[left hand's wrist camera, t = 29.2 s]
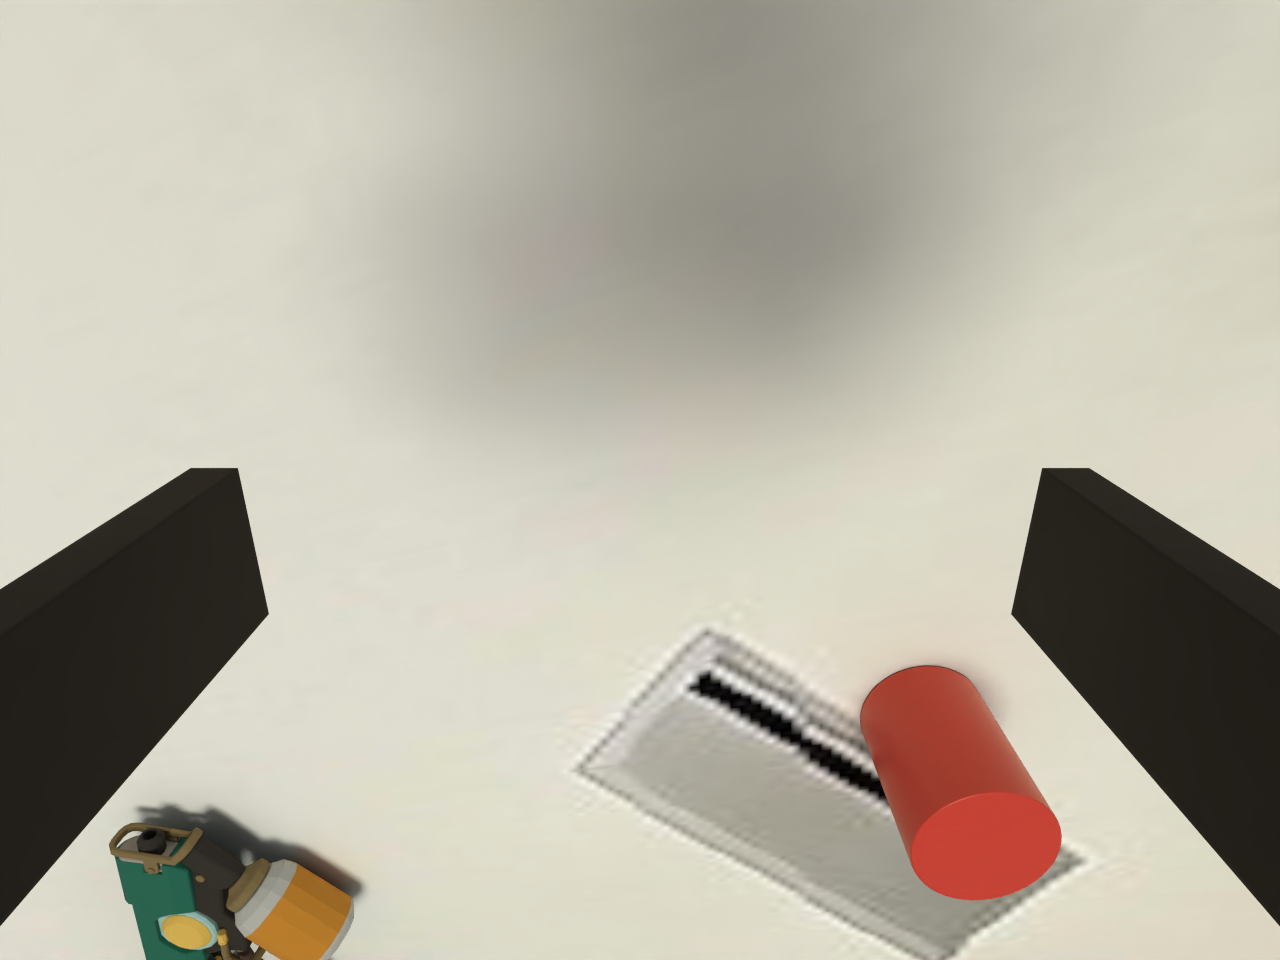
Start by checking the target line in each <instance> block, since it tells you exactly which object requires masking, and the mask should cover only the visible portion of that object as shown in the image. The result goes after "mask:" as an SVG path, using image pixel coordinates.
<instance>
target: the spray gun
mask: <svg viewBox="0 0 1280 960" xmlns="http://www.w3.org/2000/svg"><path fill="white" fill-rule="evenodd" d="M132 831H142V832H143V833H142V834H141V835H140V836H135V837H132V838H130V839H128V840H126V841H124V842H123V843H122V844H120V845H119V846H118V847H117V848H116V846H117V845H118V843H119V842H120V841H121V840H122V838H123V837H124V836H125V835H126V834H127V833H129V832H132ZM202 833H203V831H202V830H201V829H199V828H198V827H196V828H194V829H193V830H192V831H186V830H180V829H174V828H167V827H161V826H155V825H149V824H142V823H131V824H128V825H126V826H124V827H123V828H121V829H120V830H119V831H118V832H117V834H116V835H115V836H114V837H113V838H112V840H111V842H110V844H109V847H110V851H111V854H112V855H114V856H115V859H116V863H117V867H118V872H119V876H120V880H121V884H122V888H123V892H124V896H125V900H126V901H127V903H128V904H132V905H133V909H134V913H135V917H136V921H137V925H138V929H139V933H140V937H141V940H142V944H143V948H144V952H145V956H146V960H222V958H221V956H215V957H214V956H213V955H212V954H211V953H214V952H218V951H221V954H222V957H223V959H224V960H263V959H262V958H261V957H262V956H263V954H264V953H265V951H268V952H269V953H271V954H273V955H274V956H276V957H277V958H279V959H281V960H328V959H329V958H330V957H331V956H332V955H333V953H334V952H335V951H336V950H337V948H338V947H339V945H340V944H341V942H342V941H343V939H344V937H345V936H346V934H347V932H348V930H349V929H350V927H351V924H352V921H353V918H354V904H353V899H352V897H350V896H349V895H347V894H346V893H344V892H342V891H341V890H339V889H338V888H336V887H334V886H333V885H331V884H330V883H328V882H326V881H325V880H323V879H321V878H320V877H318V876H317V875H315V874H313V873H312V872H310V871H308V870H307V869H305V868H304V867H302V866H300V865H299V864H297V863H296V862H293V861H289V860H285V859H282V860H279V861H276V862H273V863H270V862H268V861H267V860H265V859H263V858H261V859H259V860H257V861H256V862H254V863H253V864H250V865H248V866H244V865H243V864H242V863H241V862H240V861H239V860H238V859H236V858H235V857H233V856H232V855H231V854H229V853H228V852H227V851H225V850H224V849H222V848H221V847H220V846H218V845H217V844H215V843H214V842H213V841H211V840H210V839H209V838H207V837H206V836H204V835H203V836H201V835H202ZM177 837H181V838H182V839H181V840H180V841H179V842H178V838H177ZM185 838H187V839H185ZM252 942H253V943H255V944H257V945H258V946H259V948H258V949H257V951H256V952H255V953H254V952H253V950H252V949H251V947H250V945H251V943H252ZM230 950H235V951H237V953H238V955H239V957H240V959H239V958H237V957H236V956H234V955H233V954H231V951H230Z"/></svg>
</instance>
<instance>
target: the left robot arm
mask: <svg viewBox="0 0 1280 960" xmlns="http://www.w3.org/2000/svg"><path fill="white" fill-rule="evenodd" d="M268 614H269V613H268V608H267V603H266V599H265V594H264V589H263V585H262V580H261V575H260V570H259V566H258V561H257V556H256V552H255V547H254V542H253V537H252V533H251V528H250V523H249V519H248V514H247V509H246V504H245V500H244V495H243V490H242V486H241V481H240V476H239V472H238V468H190V469H189V470H187V471H186V472H184V473H182V474H181V475H179V476H178V477H176V478H175V479H173V480H171V481H170V482H168V483H167V484H165V485H164V486H162V487H160V488H159V489H157V490H156V491H154V492H153V493H151V494H149V495H148V496H146V497H145V498H143V499H142V500H140V501H138V502H137V503H135V504H134V505H132V506H131V507H129V508H127V509H126V510H124V511H123V512H121V513H120V514H118V515H116V516H115V517H113V518H112V519H110V520H109V521H107V522H105V523H104V524H102V525H101V526H99V527H98V528H96V529H94V530H93V531H91V532H90V533H88V534H87V535H85V536H83V537H82V538H80V539H79V540H77V541H75V542H74V543H72V544H71V545H69V546H68V547H66V548H64V549H63V550H61V551H60V552H58V553H57V554H55V555H53V556H52V557H50V558H49V559H47V560H46V561H44V562H42V563H41V564H39V565H38V566H36V567H35V568H33V569H31V570H30V571H28V572H27V573H25V574H24V575H22V576H20V577H19V578H17V579H16V580H14V581H13V582H11V583H9V584H8V585H6V586H5V587H3V588H2V589H0V926H1V925H2V923H3V922H4V921H5V920H6V919H7V918H8V916H9V915H10V914H11V913H12V912H13V911H14V909H15V908H16V907H17V906H18V905H19V904H20V903H21V901H22V900H23V899H24V898H25V897H26V896H27V894H28V893H29V892H30V891H31V890H32V889H33V887H34V886H35V885H36V884H37V883H38V882H39V880H40V879H41V878H42V877H43V876H44V875H45V873H46V872H47V871H48V870H49V869H50V868H51V866H52V865H53V864H54V863H55V862H56V861H57V860H58V858H59V857H60V856H61V855H62V854H63V853H64V851H65V850H66V849H67V848H68V847H69V846H70V844H71V843H72V842H73V841H74V840H75V839H76V837H77V836H78V835H79V834H80V833H81V832H82V830H83V829H84V828H85V827H86V826H87V825H88V823H89V822H90V821H91V820H92V819H93V818H94V817H95V815H96V814H97V813H98V812H99V811H100V810H101V808H102V807H103V806H104V805H105V804H106V803H107V801H108V800H109V799H110V798H111V797H112V796H113V794H114V793H115V792H116V791H117V790H118V789H119V787H120V786H121V785H122V784H123V783H124V782H125V780H126V779H127V778H128V777H129V776H130V775H131V774H132V772H133V771H134V770H135V769H136V768H137V767H138V765H139V764H140V763H141V762H142V761H143V760H144V758H145V757H146V756H147V755H148V754H149V753H150V751H151V750H152V749H153V748H154V747H155V746H156V744H157V743H158V742H159V741H160V740H161V739H162V737H163V736H164V735H165V734H166V733H167V732H168V731H169V729H170V728H171V727H172V726H173V725H174V724H175V722H176V721H177V720H178V719H179V718H180V717H181V715H182V714H183V713H184V712H185V711H186V710H187V708H188V707H189V706H190V705H191V704H192V703H193V701H194V700H195V699H196V698H197V697H198V696H199V694H200V693H201V692H202V691H203V690H204V689H205V688H206V686H207V685H208V684H209V683H210V682H211V681H212V679H213V678H214V677H215V676H216V675H217V674H218V672H219V671H220V670H221V669H222V668H223V667H224V665H225V664H226V663H227V662H228V661H229V660H230V658H231V657H232V656H233V655H234V654H235V653H236V652H237V650H238V649H239V648H240V647H241V646H242V645H243V643H244V642H245V641H246V640H247V639H248V638H249V636H250V635H251V634H252V633H253V632H254V631H255V629H256V628H257V627H258V626H259V625H260V624H261V622H262V621H263V620H264V619H265V618H266V617H267V615H268ZM1011 614H1012V615H1013V617H1014V618H1015V619H1016V620H1017V621H1018V622H1019V624H1020V625H1021V626H1022V627H1023V628H1024V629H1025V631H1026V632H1027V633H1028V634H1029V635H1030V636H1031V638H1032V639H1033V640H1034V641H1035V642H1036V643H1037V645H1038V646H1039V647H1040V648H1041V649H1042V650H1043V652H1044V653H1045V654H1046V655H1047V656H1048V657H1049V658H1050V660H1051V661H1052V662H1053V663H1054V664H1055V665H1056V667H1057V668H1058V669H1059V670H1060V671H1061V672H1062V674H1063V675H1064V676H1065V677H1066V678H1067V679H1068V681H1069V682H1070V683H1071V684H1072V685H1073V686H1074V688H1075V689H1076V690H1077V691H1078V692H1079V693H1080V694H1081V696H1082V697H1083V698H1084V699H1085V700H1086V701H1087V703H1088V704H1089V705H1090V706H1091V707H1092V708H1093V710H1094V711H1095V712H1096V713H1097V714H1098V715H1099V717H1100V718H1101V719H1102V720H1103V721H1104V722H1105V724H1106V725H1107V726H1108V727H1109V728H1110V729H1111V731H1112V732H1113V733H1114V734H1115V735H1116V736H1117V737H1118V739H1119V740H1120V741H1121V742H1122V743H1123V744H1124V746H1125V747H1126V748H1127V749H1128V750H1129V751H1130V753H1131V754H1132V755H1133V756H1134V757H1135V758H1136V760H1137V761H1138V762H1139V763H1140V764H1141V765H1142V767H1143V768H1144V769H1145V770H1146V771H1147V772H1148V774H1149V775H1150V776H1151V777H1152V778H1153V779H1154V780H1155V782H1156V783H1157V784H1158V785H1159V786H1160V787H1161V789H1162V790H1163V791H1164V792H1165V793H1166V794H1167V796H1168V797H1169V798H1170V799H1171V800H1172V801H1173V803H1174V804H1175V805H1176V806H1177V807H1178V808H1179V810H1180V811H1181V812H1182V813H1183V814H1184V815H1185V817H1186V818H1187V819H1188V820H1189V821H1190V822H1191V823H1192V825H1193V826H1194V827H1195V828H1196V829H1197V830H1198V832H1199V833H1200V834H1201V835H1202V836H1203V837H1204V839H1205V840H1206V841H1207V842H1208V843H1209V844H1210V846H1211V847H1212V848H1213V849H1214V850H1215V851H1216V853H1217V854H1218V855H1219V856H1220V857H1221V858H1222V860H1223V861H1224V862H1225V863H1226V864H1227V865H1228V866H1229V868H1230V869H1231V870H1232V871H1233V872H1234V873H1235V875H1236V876H1237V877H1238V878H1239V879H1240V880H1241V882H1242V883H1243V884H1244V885H1245V886H1246V887H1247V889H1248V890H1249V891H1250V892H1251V893H1252V894H1253V896H1254V897H1255V898H1256V899H1257V900H1258V901H1259V903H1260V904H1261V905H1262V906H1263V907H1264V908H1265V909H1266V911H1267V912H1268V913H1269V914H1270V915H1271V916H1272V918H1273V919H1274V920H1275V921H1276V922H1277V923H1278V925H1279V926H1280V589H1278V588H1277V587H1275V586H1274V585H1272V584H1271V583H1269V582H1267V581H1266V580H1264V579H1263V578H1261V577H1260V576H1258V575H1256V574H1255V573H1253V572H1252V571H1250V570H1249V569H1247V568H1245V567H1244V566H1242V565H1241V564H1239V563H1238V562H1236V561H1234V560H1233V559H1231V558H1230V557H1228V556H1227V555H1225V554H1223V553H1222V552H1220V551H1219V550H1217V549H1216V548H1214V547H1212V546H1211V545H1209V544H1208V543H1206V542H1205V541H1203V540H1201V539H1200V538H1198V537H1197V536H1195V535H1193V534H1192V533H1190V532H1189V531H1187V530H1186V529H1184V528H1182V527H1181V526H1179V525H1178V524H1176V523H1175V522H1173V521H1171V520H1170V519H1168V518H1167V517H1165V516H1164V515H1162V514H1160V513H1159V512H1157V511H1156V510H1154V509H1153V508H1151V507H1149V506H1148V505H1146V504H1145V503H1143V502H1142V501H1140V500H1138V499H1137V498H1135V497H1134V496H1132V495H1131V494H1129V493H1127V492H1126V491H1124V490H1123V489H1121V488H1120V487H1118V486H1116V485H1115V484H1113V483H1112V482H1110V481H1109V480H1107V479H1105V478H1104V477H1102V476H1101V475H1099V474H1098V473H1096V472H1094V471H1093V470H1091V469H1090V468H1042V472H1041V476H1040V481H1039V486H1038V490H1037V495H1036V500H1035V504H1034V509H1033V514H1032V519H1031V523H1030V528H1029V533H1028V537H1027V542H1026V547H1025V552H1024V556H1023V561H1022V566H1021V570H1020V575H1019V580H1018V585H1017V589H1016V594H1015V599H1014V603H1013V608H1012V613H1011Z"/></svg>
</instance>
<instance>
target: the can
mask: <svg viewBox="0 0 1280 960" xmlns="http://www.w3.org/2000/svg"><path fill="white" fill-rule="evenodd" d="M860 722H861V729H862V733H863V735H864V738H865V741H866V743H867V746H868V749H869V752H870V754H871V757H872V760H873V762H874V765H875V768H876V770H877V773H878V776H879V779H880V781H881V784H882V787H883V789H884V792H885V795H886V797H887V800H888V803H889V806H890V808H891V811H892V814H893V816H894V819H895V822H896V824H897V827H898V830H899V833H900V835H901V838H902V841H903V843H904V846H905V849H906V851H907V854H908V857H909V860H910V862H911V865H912V867H913V869H914V872H915V873H916V875H917V876H918V878H919V879H920V880H921V881H922V882H923V883H924V884H925V885H926V886H928V887H929V888H930V889H932V890H934V891H936V892H938V893H940V894H942V895H945V896H948V897H952V898H956V899H962V900H986V899H993V898H998V897H1002V896H1006V895H1009V894H1012V893H1014V892H1017V891H1019V890H1021V889H1023V888H1025V887H1027V886H1029V885H1030V884H1032V883H1033V882H1035V881H1036V880H1037V879H1039V878H1040V877H1041V876H1042V875H1043V874H1044V873H1045V872H1046V871H1047V870H1048V869H1049V868H1050V867H1051V865H1052V864H1053V863H1054V861H1055V859H1056V857H1057V855H1058V853H1059V850H1060V846H1061V829H1060V825H1059V822H1058V820H1057V818H1056V817H1055V815H1054V813H1053V812H1052V810H1051V809H1050V807H1049V805H1048V804H1047V802H1046V801H1045V799H1044V797H1043V796H1042V794H1041V792H1040V791H1039V789H1038V788H1037V786H1036V784H1035V783H1034V781H1033V780H1032V778H1031V776H1030V775H1029V773H1028V771H1027V770H1026V768H1025V767H1024V765H1023V763H1022V762H1021V760H1020V759H1019V757H1018V755H1017V754H1016V752H1015V750H1014V749H1013V747H1012V746H1011V744H1010V742H1009V741H1008V739H1007V738H1006V736H1005V734H1004V733H1003V731H1002V729H1001V728H1000V726H999V725H998V723H997V721H996V720H995V718H994V717H993V715H992V713H991V712H990V710H989V708H988V707H987V705H986V704H985V702H984V700H983V699H982V697H981V696H980V694H979V692H978V691H977V689H976V687H975V686H974V685H973V684H972V683H971V682H970V681H969V680H968V679H967V678H966V677H964V676H963V675H961V674H959V673H957V672H955V671H953V670H950V669H947V668H942V667H935V666H921V667H914V668H910V669H906V670H903V671H900V672H898V673H896V674H894V675H892V676H890V677H888V678H887V679H885V680H884V681H882V682H881V683H880V684H878V685H877V686H876V687H875V688H874V689H873V691H872V692H871V693H870V694H869V696H868V697H867V699H866V701H865V703H864V705H863V708H862V712H861V720H860Z"/></svg>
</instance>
